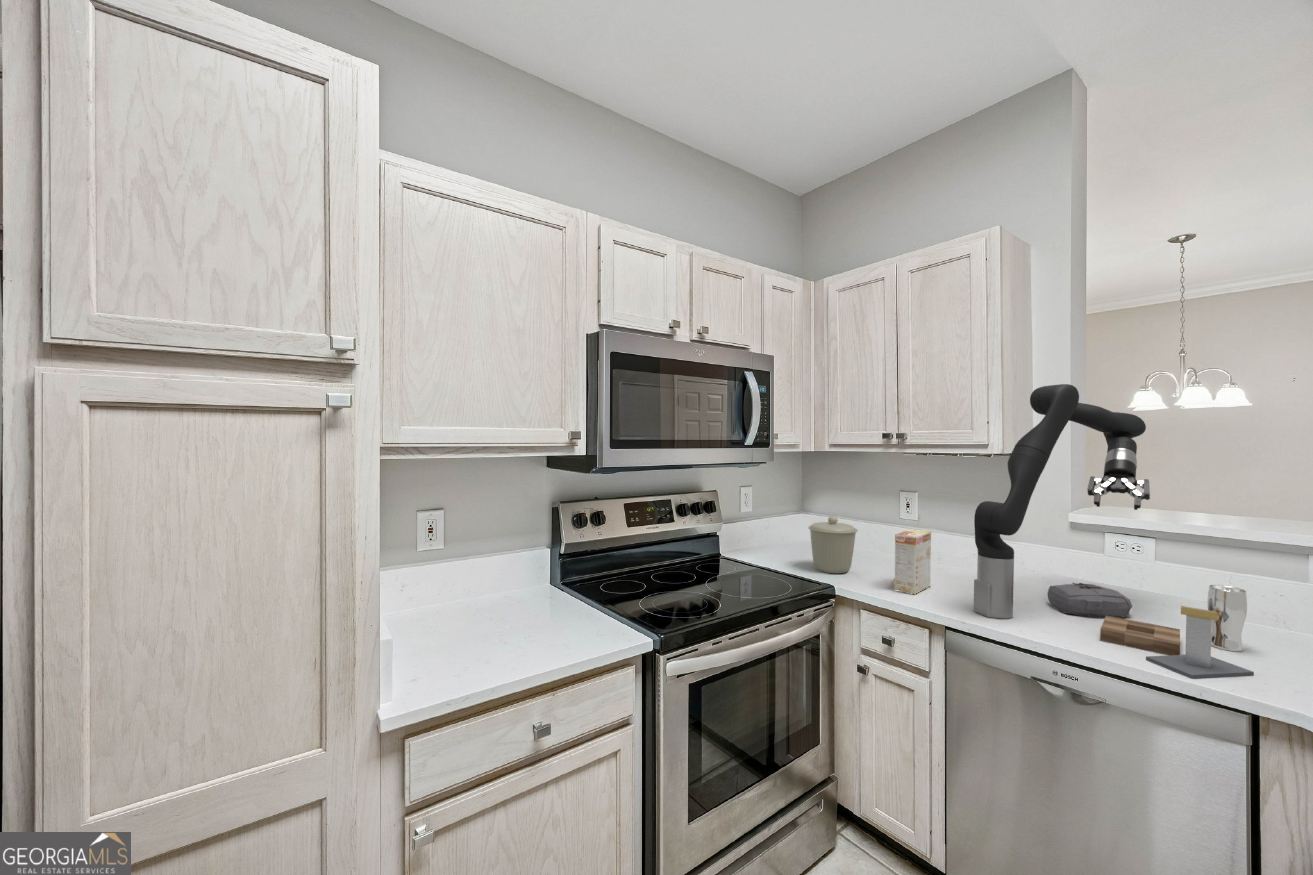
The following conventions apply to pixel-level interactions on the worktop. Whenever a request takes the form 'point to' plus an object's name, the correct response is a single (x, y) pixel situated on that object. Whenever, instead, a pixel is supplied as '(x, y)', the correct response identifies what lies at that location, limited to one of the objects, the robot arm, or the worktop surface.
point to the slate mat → (1191, 671)
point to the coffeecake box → (912, 560)
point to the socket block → (1141, 635)
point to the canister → (832, 545)
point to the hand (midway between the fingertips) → (1116, 506)
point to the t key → (1198, 635)
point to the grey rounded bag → (1088, 600)
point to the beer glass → (1227, 616)
